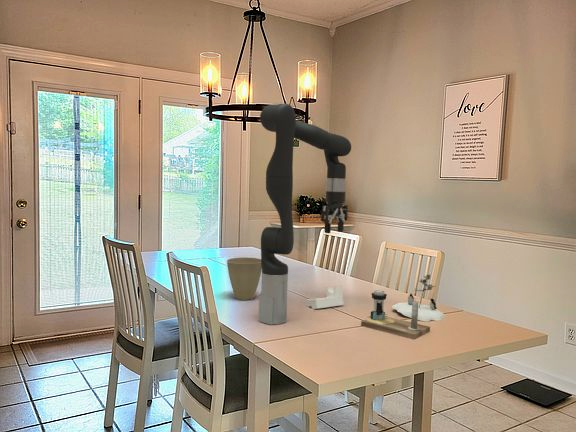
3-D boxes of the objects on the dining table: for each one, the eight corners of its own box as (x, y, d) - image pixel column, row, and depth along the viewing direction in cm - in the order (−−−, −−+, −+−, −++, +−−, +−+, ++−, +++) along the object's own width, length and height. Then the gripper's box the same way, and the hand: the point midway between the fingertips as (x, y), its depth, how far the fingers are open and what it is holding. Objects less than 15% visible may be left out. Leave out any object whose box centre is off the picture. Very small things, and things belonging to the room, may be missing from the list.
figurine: (382, 309, 194) (387, 269, 191) (409, 303, 206) (414, 265, 204) (427, 327, 179) (434, 283, 177) (453, 319, 192) (459, 278, 189)
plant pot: (243, 292, 219) (244, 255, 217) (269, 298, 209) (270, 260, 208) (218, 297, 207) (219, 259, 206) (244, 304, 198) (245, 264, 196)
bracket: (333, 305, 206) (330, 286, 207) (343, 304, 200) (341, 285, 201) (306, 308, 199) (304, 289, 200) (317, 308, 193) (314, 288, 194)
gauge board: (413, 339, 162) (415, 307, 161) (358, 325, 176) (359, 295, 175) (429, 331, 171) (431, 301, 170) (376, 318, 185) (377, 290, 184)
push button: (383, 316, 182) (384, 289, 181) (391, 320, 177) (393, 292, 176) (367, 317, 179) (368, 290, 178) (375, 321, 174) (377, 293, 173)
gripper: (333, 190, 184) (331, 234, 185) (354, 190, 195) (352, 232, 196) (316, 190, 189) (315, 232, 190) (338, 189, 200) (336, 230, 201)
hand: (334, 232), depth 193 cm, fingers open, 8 cm apart
